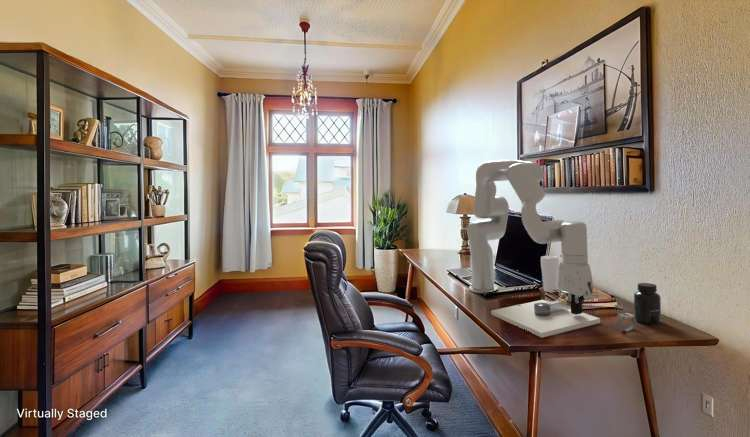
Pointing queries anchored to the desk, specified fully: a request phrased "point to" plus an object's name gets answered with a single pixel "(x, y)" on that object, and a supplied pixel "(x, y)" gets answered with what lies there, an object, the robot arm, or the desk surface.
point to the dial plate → (544, 319)
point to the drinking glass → (550, 272)
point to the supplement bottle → (647, 304)
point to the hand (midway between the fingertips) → (576, 313)
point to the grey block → (550, 307)
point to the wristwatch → (626, 316)
